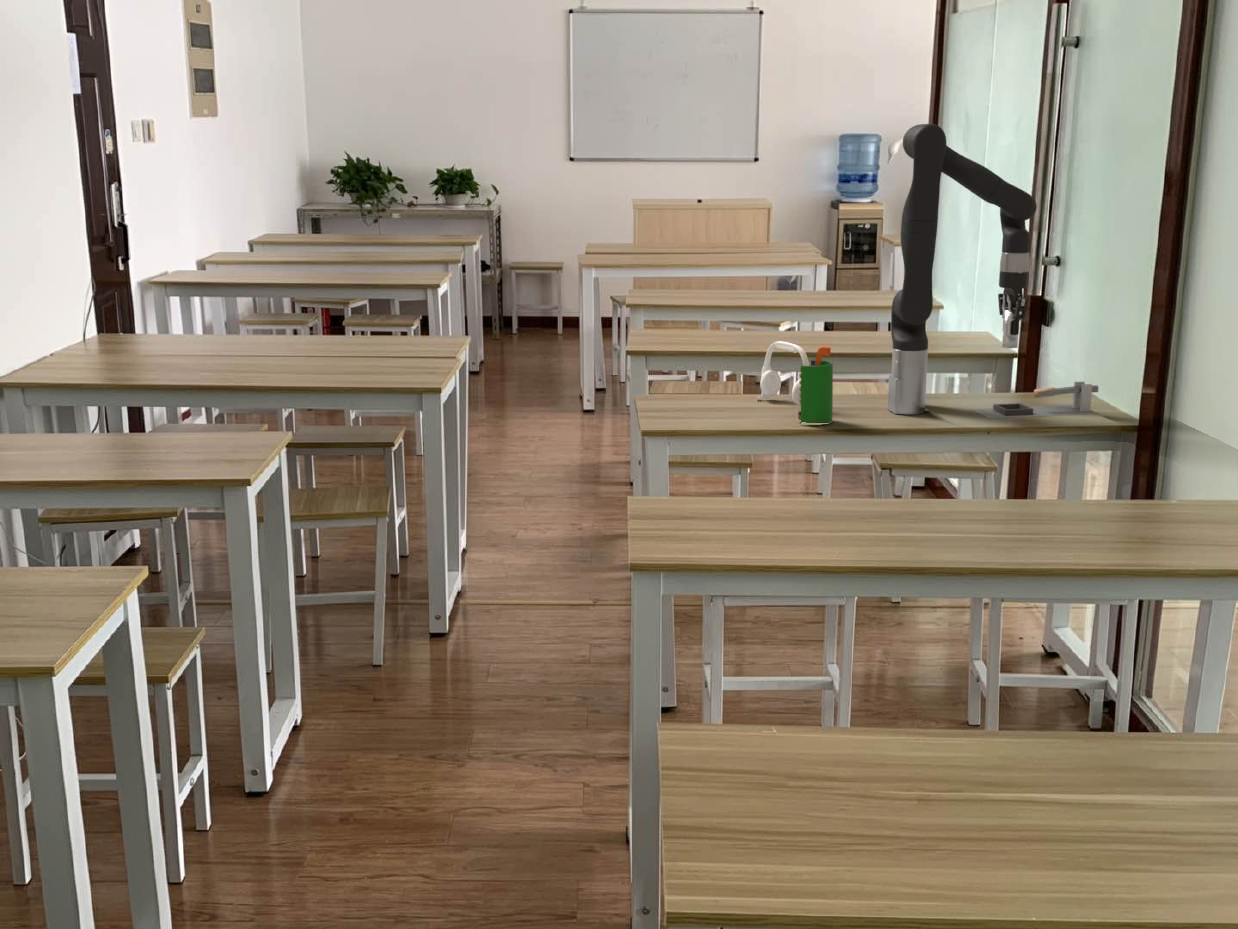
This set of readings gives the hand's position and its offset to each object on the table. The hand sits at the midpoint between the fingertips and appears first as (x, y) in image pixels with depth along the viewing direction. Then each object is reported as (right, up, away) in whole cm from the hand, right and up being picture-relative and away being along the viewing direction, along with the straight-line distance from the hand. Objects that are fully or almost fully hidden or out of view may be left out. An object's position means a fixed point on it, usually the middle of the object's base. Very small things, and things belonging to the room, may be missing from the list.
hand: (1010, 333), depth 335 cm
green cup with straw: (-54, -25, -9) cm, 60 cm away
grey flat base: (+4, -23, -7) cm, 24 cm away
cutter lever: (+12, -17, -8) cm, 22 cm away
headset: (-59, -19, +13) cm, 63 cm away
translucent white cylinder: (0, -4, +1) cm, 4 cm away
